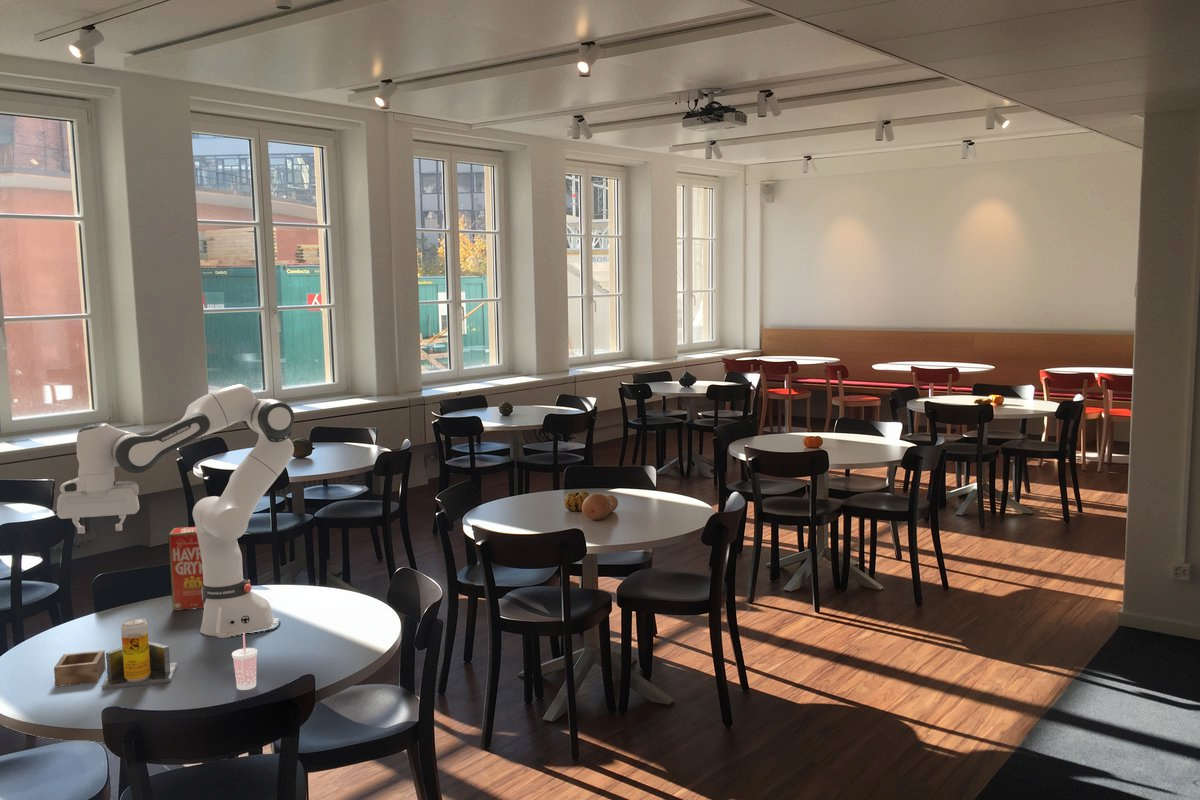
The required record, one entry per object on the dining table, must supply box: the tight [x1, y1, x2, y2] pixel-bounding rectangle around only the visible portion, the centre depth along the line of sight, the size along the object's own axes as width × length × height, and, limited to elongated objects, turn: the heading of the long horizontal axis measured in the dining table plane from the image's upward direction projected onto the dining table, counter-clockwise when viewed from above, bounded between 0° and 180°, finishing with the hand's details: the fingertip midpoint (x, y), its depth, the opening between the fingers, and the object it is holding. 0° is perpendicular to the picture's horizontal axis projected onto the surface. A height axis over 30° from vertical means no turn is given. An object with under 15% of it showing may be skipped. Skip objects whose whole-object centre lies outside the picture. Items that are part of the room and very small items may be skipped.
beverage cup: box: [231, 633, 258, 691], centre depth 246 cm, size 6×6×14 cm
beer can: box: [120, 617, 151, 682], centre depth 250 cm, size 6×6×15 cm
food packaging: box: [167, 526, 204, 611], centre depth 313 cm, size 13×9×25 cm
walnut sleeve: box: [53, 649, 107, 687], centre depth 254 cm, size 10×10×5 cm
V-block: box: [101, 641, 178, 690], centre depth 253 cm, size 16×12×8 cm
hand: (100, 531), depth 270 cm, fingers open, 8 cm apart
